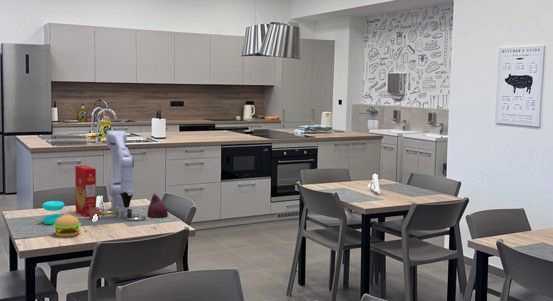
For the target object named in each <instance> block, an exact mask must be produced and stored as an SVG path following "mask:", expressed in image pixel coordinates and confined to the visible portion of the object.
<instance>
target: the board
mask: <svg viewBox="0 0 553 301" xmlns="http://www.w3.org/2000/svg"><path fill="white" fill-rule="evenodd" d="M132 215H140V214H139V213H132ZM100 217H101V218H100V219H99V220H98V221H96V222H93V221H92V220H91V219H90V217H80V218H78V217H77V219H78V220H79V223H81V225H80V226H79V227H87V226H100V225H101V226H102V225H111V224H112V225H113V224H122V223H135V222H136V223H137V222H138V221H128V220H127V214H123V218H119V219H117V218H116V217H115V215H102V216H100ZM145 221H147V222H148V219H146V218H145V220H142V221H141V222H145Z"/></svg>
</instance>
